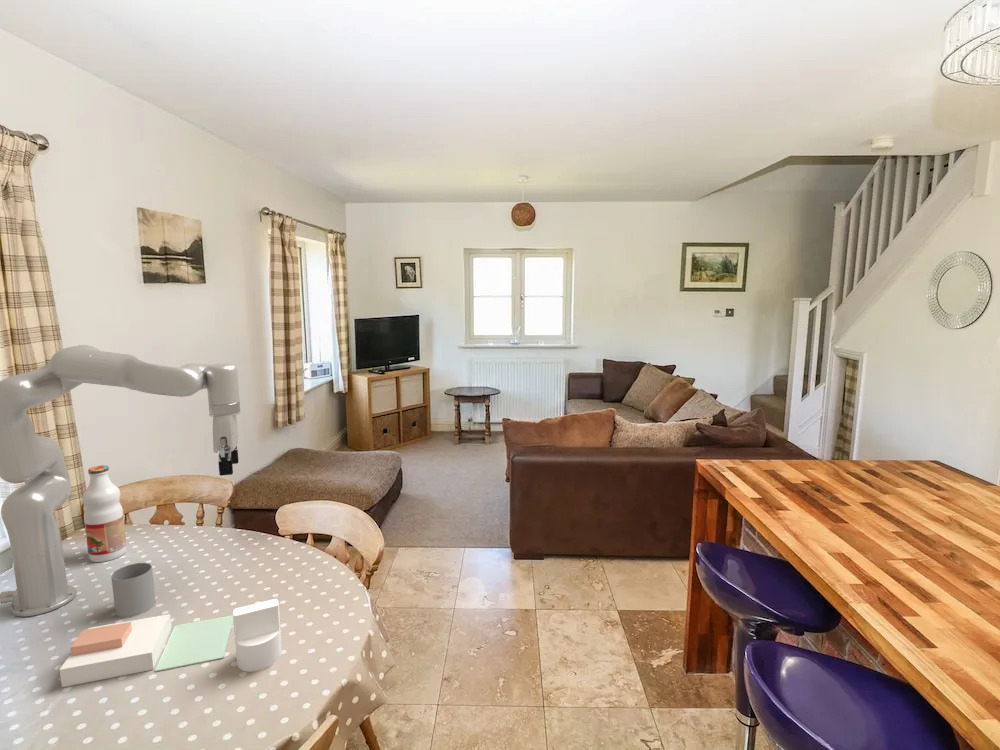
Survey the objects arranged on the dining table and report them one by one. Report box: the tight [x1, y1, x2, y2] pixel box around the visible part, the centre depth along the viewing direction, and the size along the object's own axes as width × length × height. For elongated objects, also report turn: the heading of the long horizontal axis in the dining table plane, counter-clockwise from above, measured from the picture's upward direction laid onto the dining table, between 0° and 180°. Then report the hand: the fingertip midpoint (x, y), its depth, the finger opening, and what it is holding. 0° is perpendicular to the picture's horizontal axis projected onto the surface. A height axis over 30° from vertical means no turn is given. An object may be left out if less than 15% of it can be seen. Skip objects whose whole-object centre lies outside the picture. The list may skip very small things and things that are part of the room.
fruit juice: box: [81, 465, 128, 563], centre depth 155 cm, size 9×9×28 cm
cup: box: [110, 562, 157, 619], centre depth 130 cm, size 8×8×10 cm
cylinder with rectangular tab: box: [232, 598, 283, 673], centre depth 112 cm, size 9×9×12 cm
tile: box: [70, 622, 132, 656], centre depth 111 cm, size 9×6×2 cm, turn 109°
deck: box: [59, 613, 173, 688], centre depth 113 cm, size 16×14×4 cm
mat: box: [154, 614, 234, 673], centre depth 118 cm, size 13×16×1 cm
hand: (229, 469), depth 143 cm, fingers open, 9 cm apart
